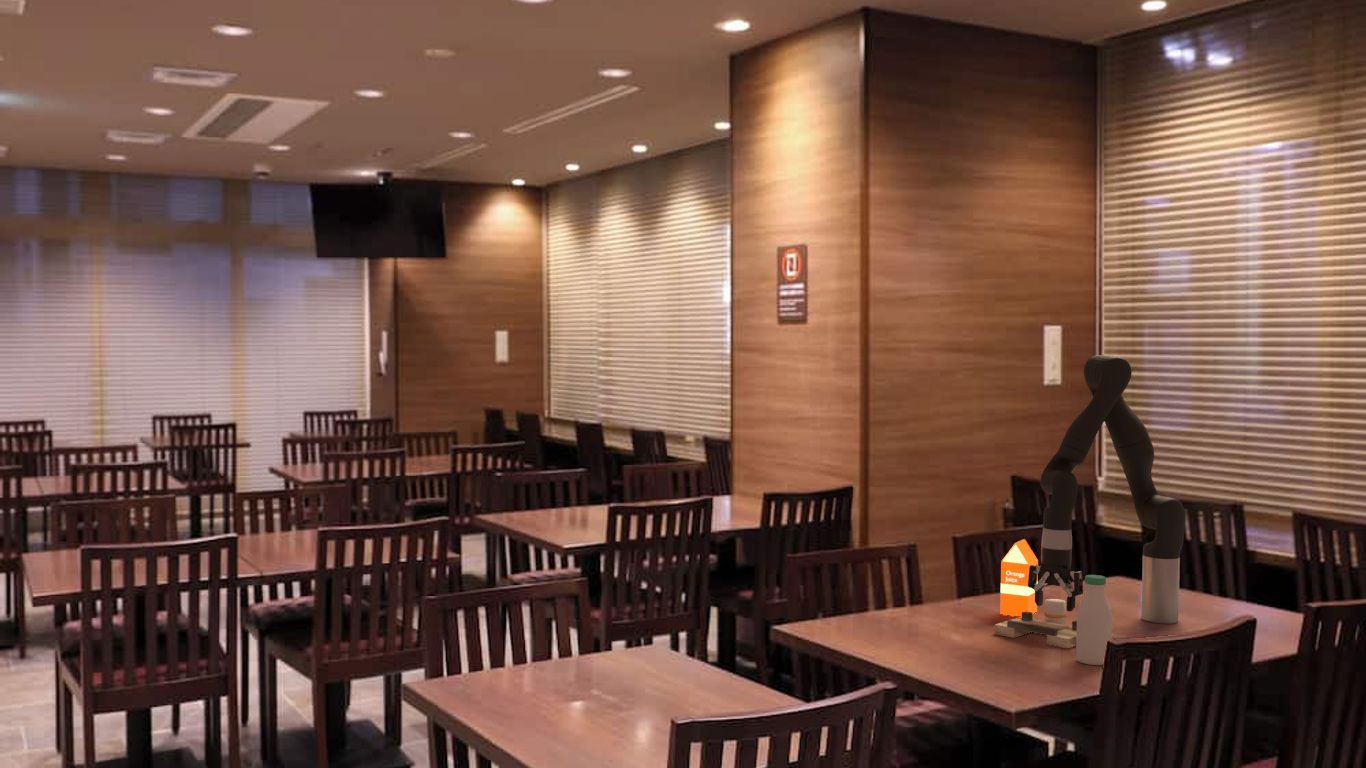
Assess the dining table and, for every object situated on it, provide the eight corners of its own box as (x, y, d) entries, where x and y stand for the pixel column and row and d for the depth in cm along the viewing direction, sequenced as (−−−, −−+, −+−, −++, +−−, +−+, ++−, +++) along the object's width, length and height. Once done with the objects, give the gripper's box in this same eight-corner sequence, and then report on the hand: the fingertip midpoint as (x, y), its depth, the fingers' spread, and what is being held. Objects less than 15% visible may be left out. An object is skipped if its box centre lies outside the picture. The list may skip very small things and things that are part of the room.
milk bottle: (1113, 667, 277) (1115, 580, 276) (1078, 665, 278) (1080, 578, 277) (1108, 658, 284) (1110, 574, 283) (1074, 656, 286) (1076, 572, 285)
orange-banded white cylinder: (1050, 624, 319) (1051, 597, 319) (1069, 627, 315) (1070, 601, 315) (1040, 627, 315) (1040, 600, 315) (1059, 631, 311) (1060, 604, 311)
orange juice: (1037, 612, 333) (1039, 539, 332) (1028, 618, 325) (1029, 544, 325) (1009, 608, 337) (1010, 537, 336) (999, 614, 330) (1000, 541, 329)
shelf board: (1020, 625, 316) (1021, 609, 316) (1093, 639, 302) (1093, 622, 302) (994, 633, 307) (994, 616, 307) (1067, 648, 293) (1068, 630, 293)
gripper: (1089, 548, 312) (1087, 610, 312) (1038, 541, 322) (1036, 601, 322) (1075, 551, 306) (1073, 614, 307) (1024, 543, 316) (1022, 605, 317)
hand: (1054, 608), depth 315 cm, fingers open, 8 cm apart
